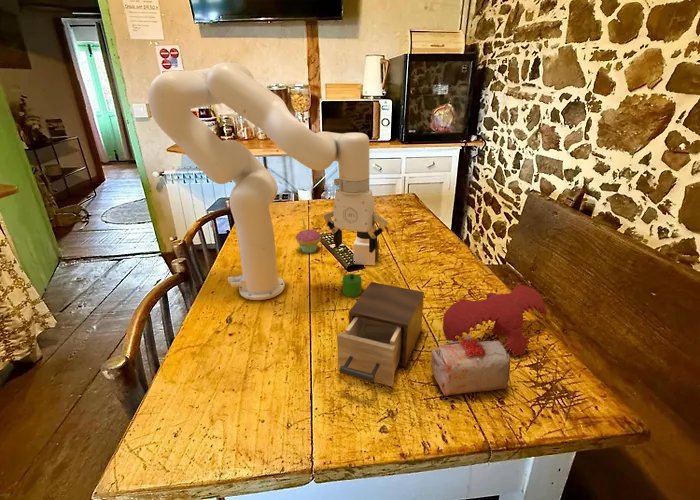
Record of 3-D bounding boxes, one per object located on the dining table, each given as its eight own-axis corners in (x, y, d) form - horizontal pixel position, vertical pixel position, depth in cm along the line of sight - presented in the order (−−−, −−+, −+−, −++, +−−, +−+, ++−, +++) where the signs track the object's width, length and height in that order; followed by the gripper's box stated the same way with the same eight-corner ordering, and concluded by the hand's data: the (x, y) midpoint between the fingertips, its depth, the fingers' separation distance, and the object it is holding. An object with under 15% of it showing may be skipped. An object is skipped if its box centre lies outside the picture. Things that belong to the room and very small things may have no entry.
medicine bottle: (375, 266, 124) (376, 230, 119) (353, 264, 125) (352, 229, 120) (378, 256, 130) (379, 222, 125) (357, 254, 132) (357, 221, 127)
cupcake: (292, 252, 134) (289, 219, 129) (304, 243, 141) (302, 211, 136) (315, 256, 131) (313, 222, 126) (326, 246, 138) (324, 214, 133)
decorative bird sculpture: (549, 344, 95) (525, 284, 99) (580, 339, 86) (552, 274, 90) (449, 376, 85) (428, 309, 89) (473, 373, 77) (447, 300, 81)
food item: (440, 401, 73) (445, 359, 69) (427, 372, 80) (430, 332, 76) (510, 394, 75) (518, 352, 71) (491, 365, 82) (498, 326, 78)
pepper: (343, 297, 107) (343, 279, 105) (341, 287, 112) (341, 270, 110) (362, 295, 108) (362, 278, 106) (360, 286, 113) (359, 269, 110)
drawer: (384, 403, 72) (385, 365, 68) (328, 386, 76) (326, 349, 72) (409, 348, 86) (411, 314, 82) (360, 335, 90) (360, 303, 86)
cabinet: (405, 367, 82) (407, 324, 77) (349, 352, 86) (348, 311, 82) (421, 330, 93) (424, 291, 89) (371, 319, 98) (371, 281, 93)
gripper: (316, 186, 98) (319, 249, 105) (382, 192, 91) (381, 258, 99) (329, 178, 104) (331, 238, 111) (392, 184, 98) (390, 247, 105)
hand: (355, 248), depth 105 cm, fingers open, 9 cm apart
